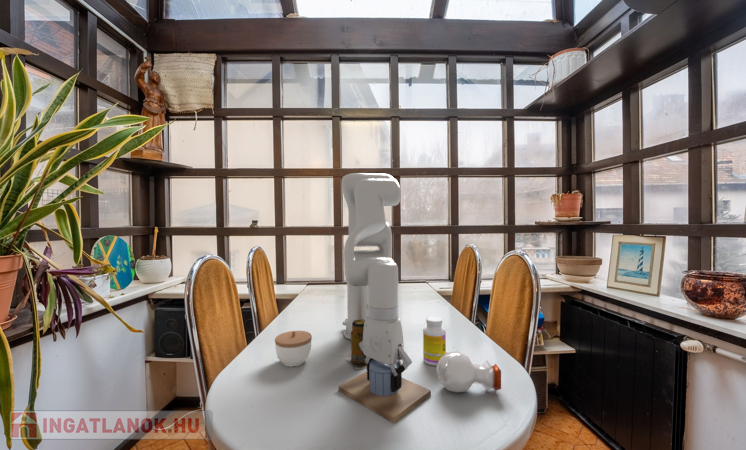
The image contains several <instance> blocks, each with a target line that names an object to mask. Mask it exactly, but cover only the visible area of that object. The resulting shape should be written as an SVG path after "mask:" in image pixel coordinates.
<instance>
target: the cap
mask: <svg viewBox="0 0 746 450" xmlns="http://www.w3.org/2000/svg"><path fill="white" fill-rule="evenodd" d="M395 366H396V369H397V368H398V367H397V364H396V363H395ZM392 374H393V373H392V370H391V367H390V365H386V364H383V363H381V362H379V361H376V360H372V361H371V362H370V366H369V388H370V391H371V392H372V393H374V394H375V395H379V396H391V395H393V394H395V393H396V392H397V391H398V390H397V391H395V392H392V391H391V375H392Z"/></svg>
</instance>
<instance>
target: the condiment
mask: <svg viewBox="0 0 746 450" xmlns="http://www.w3.org/2000/svg"><path fill="white" fill-rule="evenodd" d="M364 323H365V320H364V319H358V320H354V321H353V323H352V331H351V340H350V357H346V358H345V359H346V361H347V362H348V363H349V364H350V365H351V366H352V367H353V368H354V369H355V371H356V370H363V369H367V364H366V363H365V358H364V356H363V354H362V350H361V348H360V346H359V343H360V342H362V341H363V330H364Z"/></svg>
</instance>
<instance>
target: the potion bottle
mask: <svg viewBox="0 0 746 450" xmlns="http://www.w3.org/2000/svg"><path fill="white" fill-rule="evenodd" d="M435 369H436V373H437V377H438V381H439V382H440V384H441V385H442V386H443V387H444V388H445V389H446V390H447V391H449V392H452V393H454V394H457V393H458V394H459V393H466V392H468V391H469V390H470V388H471V387H472V386H473V384H476V385H477V384H478V385H481V386H482V387H483V388H484V389H485V390H486V391H489V390H492V389H493V390H494V391H499V390H501V389H502V369H500V368H499V366H498V365H497V363H495V364H494V365H491V363H490V362H489V361H488V360H485V362H484V363H482V364H474V363H473V362H472V361H471V359H470V358H469V356H468V355H466V354H465V353H463V352H460V351H459V350H453V351H447V352H446V353H445V354H444V355H443V356H442V358H441V359H440V360H439V361H438V364H437V366H436V368H435Z"/></svg>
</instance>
